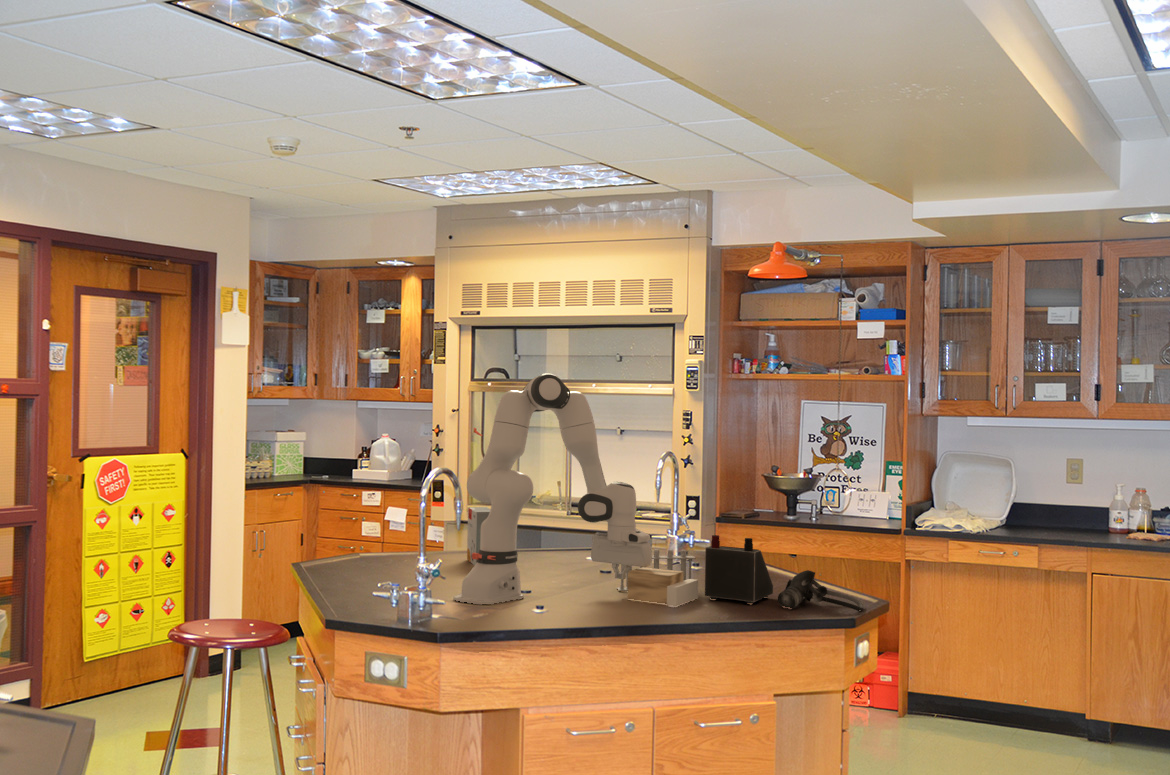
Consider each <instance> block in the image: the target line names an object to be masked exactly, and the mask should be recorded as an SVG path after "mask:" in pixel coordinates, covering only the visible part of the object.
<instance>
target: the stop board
mask: <svg viewBox="0 0 1170 775" xmlns="http://www.w3.org/2000/svg"><path fill="white" fill-rule="evenodd" d="M698 593H699V579H694V578H691V579H689V578H686V580H684V581H681V582H678V583H675V584H673V585H670V586H667V605H673V606H677V605H680V604H682V603H685V602H688V601H691V600H693V599H696V598H698V599H699V594H698ZM667 605H666V606H667Z"/></svg>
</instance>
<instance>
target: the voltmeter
mask: <svg viewBox="0 0 1170 775" xmlns="http://www.w3.org/2000/svg"><path fill="white" fill-rule="evenodd" d="M710 542H711V544H710V546H707V547H705V554H704V556H705V557H704V560H705V561H704V564H705V567H704V596H705V597H709V599H710V598H711V599H717V598H719V599H726V600H727V599H728V600H736V601H743V602H745V603H746V602H747V603H755V602H757V601H761V600H763V599H762V598H764V597H769V596H771V595H773V594H774V585H773V581H772V579H771V576H770V573H769V570H768V567H767V563H766V561H765V559H764V556H763V554H762V550H760V549H756V548H754V544H753V538H752V537H746V538H744V544H743V547H735V546H722V545H721V541H720V535H716V534H714V535H713V534H711V541H710ZM717 600H718V599H717Z"/></svg>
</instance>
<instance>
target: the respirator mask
mask: <svg viewBox="0 0 1170 775" xmlns="http://www.w3.org/2000/svg"><path fill="white" fill-rule="evenodd" d="M815 576H816V572H815V571H813V570H810V569H809V570H808V569H807V570H803V571H801V572H798V573H797V574H795V575H794V577H793V578H792V579H788V581H787V583H786V586H785V589H784V590H783V591H781V592H780V593H779V594H778V596H777V602H778V604H779V606H780V607H781V606H785V607H790V608H793V609H794V608H796V607H797V606H798V605H800V604H801V603H805V604H806V603H807V602H811V601H812V599H813V601H814V602H815V603H820V602H825V603H830V604H834V605H838V606H841V607H845V608H850V609H852V610H855V611H858V612H860V611H859V610H862V609H864V605H863V603H862V601H860V599H858V598H856V597H854V596H852V595H848V594H846V593H845V594H844V593H841V592H838V591H834V590H829V589H827V587H826V586H825V585H821V583H819V582H818V581H817V580H815ZM826 595H828V596H832V597H833V596H834V597H837V598H841V599H843V600H844V599H845V600H847V601H850V602H853V603H854V604H853V603H850V602H847V601H842V600H839V599H836V598H832V597H826ZM862 611H863V610H862Z"/></svg>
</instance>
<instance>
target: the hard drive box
mask: <svg viewBox="0 0 1170 775" xmlns="http://www.w3.org/2000/svg"><path fill="white" fill-rule="evenodd" d="M490 510H491V508H489V507H487V506H472V507H471V506H469V507H467V541H466V542H467V546H466V548H467V549H466V554H467V555H466V560H467V561H468V562H470V563H471V564H472V565H473V567H474V566H475V565H476V563H477V561H476V560H477V559H472V556H473V555H472V553H478V552H479V550H480V543H481V524H482V522H483V521H484V520H485V519H487V517H488V515H489V513H490Z"/></svg>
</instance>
